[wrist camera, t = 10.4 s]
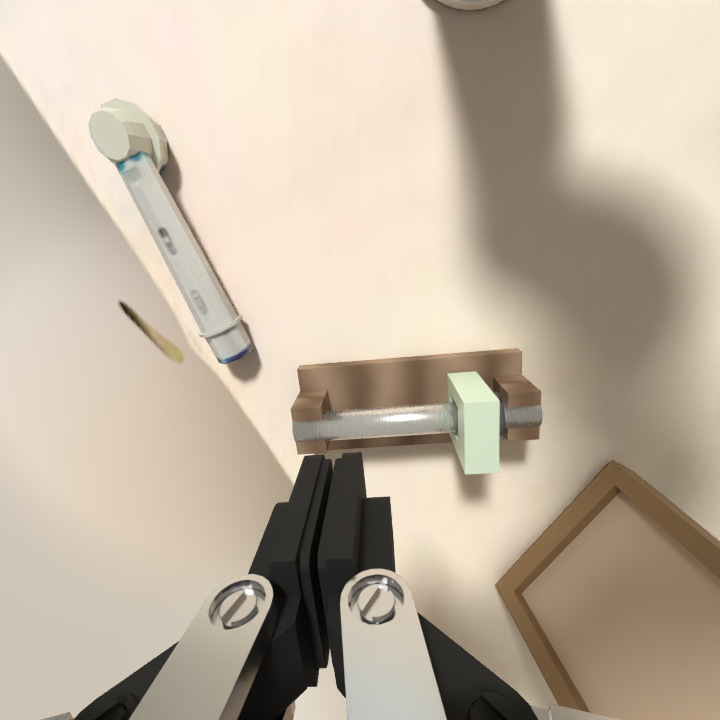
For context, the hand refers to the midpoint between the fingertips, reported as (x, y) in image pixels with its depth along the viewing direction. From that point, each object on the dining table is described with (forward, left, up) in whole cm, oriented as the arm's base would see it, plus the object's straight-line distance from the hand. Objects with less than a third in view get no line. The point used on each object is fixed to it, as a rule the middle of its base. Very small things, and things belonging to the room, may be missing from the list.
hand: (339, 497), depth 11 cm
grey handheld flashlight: (-9, -17, -32) cm, 37 cm away
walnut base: (+10, +4, -31) cm, 33 cm away
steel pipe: (+10, +4, -28) cm, 30 cm away
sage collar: (+10, +10, -29) cm, 32 cm away
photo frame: (+32, +26, -31) cm, 52 cm away
